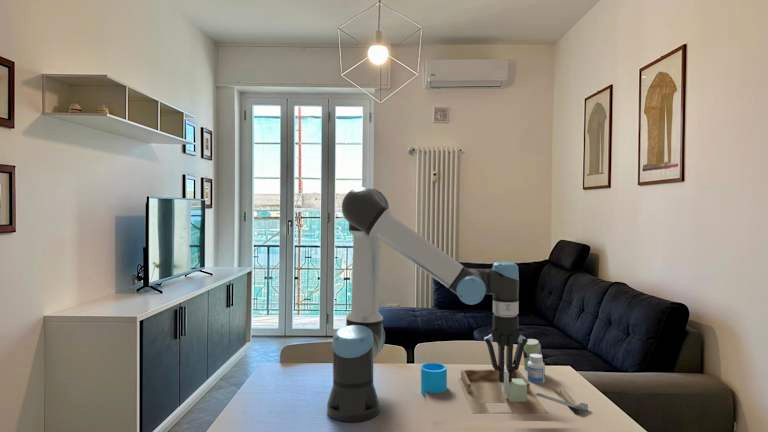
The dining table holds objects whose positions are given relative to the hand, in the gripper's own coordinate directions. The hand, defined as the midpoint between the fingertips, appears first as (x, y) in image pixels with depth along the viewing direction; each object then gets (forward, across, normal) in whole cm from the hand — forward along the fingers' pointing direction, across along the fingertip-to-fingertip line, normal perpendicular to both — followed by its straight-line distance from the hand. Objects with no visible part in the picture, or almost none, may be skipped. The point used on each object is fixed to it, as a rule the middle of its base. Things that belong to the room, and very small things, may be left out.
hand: (505, 392), depth 141 cm
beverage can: (+3, +16, +24) cm, 29 cm away
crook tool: (+3, +16, -1) cm, 17 cm away
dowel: (+3, +19, +1) cm, 20 cm away
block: (+2, +3, 0) cm, 3 cm away
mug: (+3, -20, +10) cm, 23 cm away
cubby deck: (+3, -1, +3) cm, 5 cm away
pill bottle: (+3, +14, +14) cm, 20 cm away
